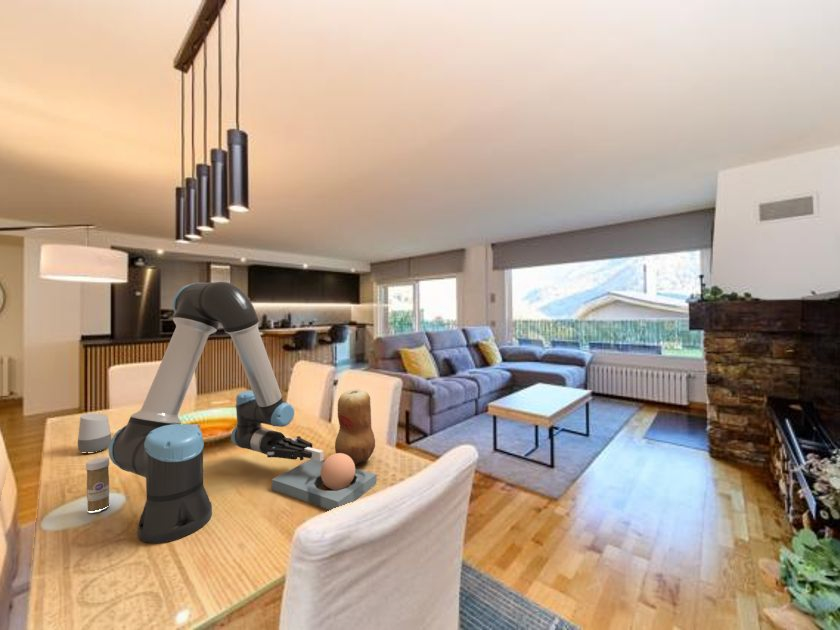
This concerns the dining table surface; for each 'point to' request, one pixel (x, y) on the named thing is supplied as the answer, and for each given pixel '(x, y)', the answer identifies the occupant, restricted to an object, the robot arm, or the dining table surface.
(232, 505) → the dining table surface
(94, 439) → the smart speaker
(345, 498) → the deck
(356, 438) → the butternut squash
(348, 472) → the ball
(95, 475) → the sprinkles bottle
